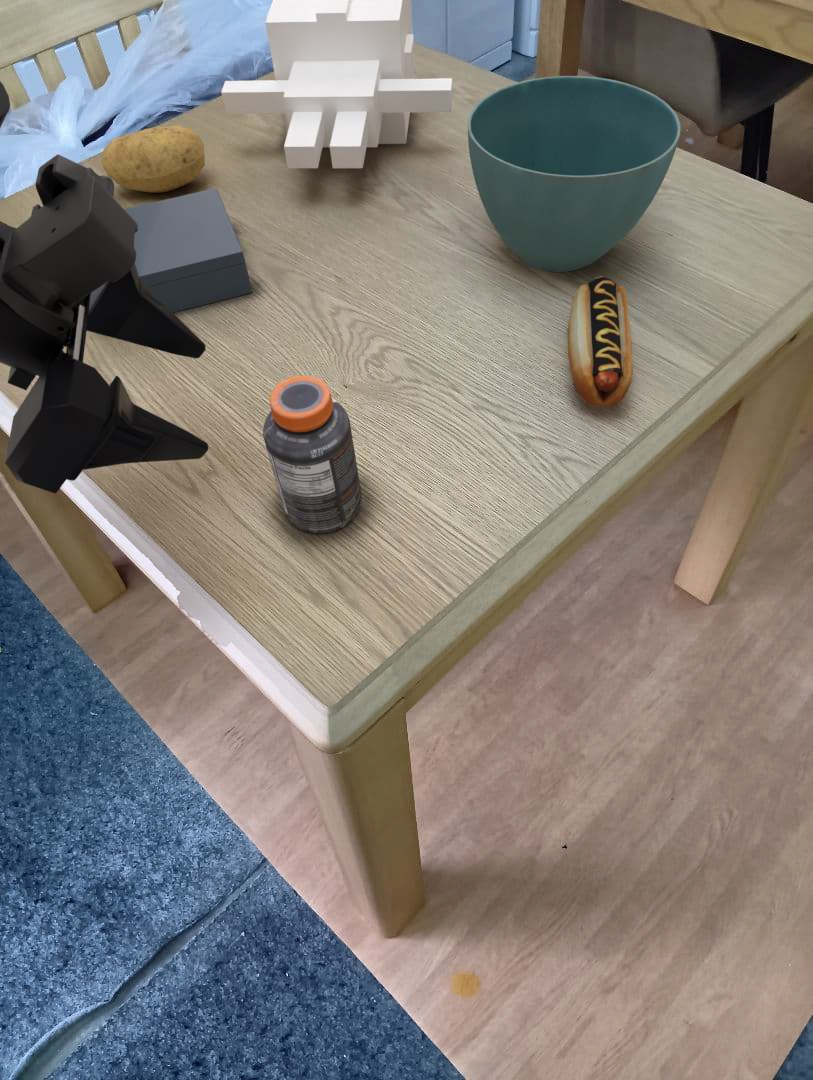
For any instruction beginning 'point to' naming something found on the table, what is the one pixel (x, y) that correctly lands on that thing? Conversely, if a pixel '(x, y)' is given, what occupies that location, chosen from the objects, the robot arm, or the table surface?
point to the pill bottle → (312, 455)
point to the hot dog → (600, 343)
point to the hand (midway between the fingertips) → (203, 399)
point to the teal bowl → (569, 164)
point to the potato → (155, 159)
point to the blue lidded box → (189, 251)
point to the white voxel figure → (340, 79)
